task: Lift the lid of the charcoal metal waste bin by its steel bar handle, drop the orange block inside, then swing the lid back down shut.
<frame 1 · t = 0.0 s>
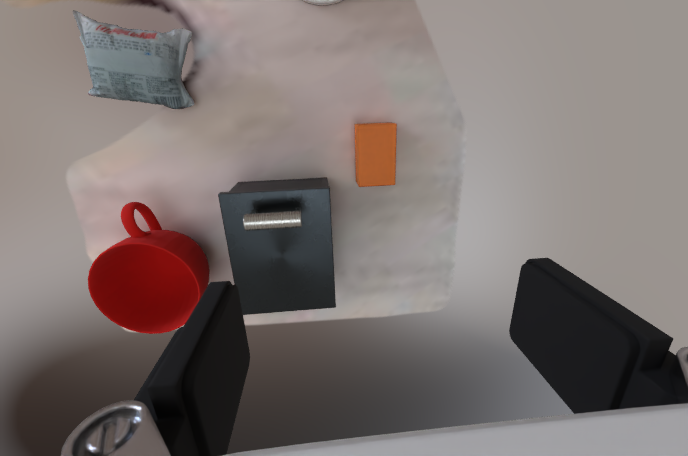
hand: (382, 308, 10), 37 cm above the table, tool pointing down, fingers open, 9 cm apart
packaged food: (147, 64, 39), on the table
orange block: (372, 152, 45), on the table
bin lid: (280, 261, 37), point 11 cm above the table, hinge at 0.0°
bin: (288, 230, 48), on the table
ceramic cup: (175, 243, 47), on the table
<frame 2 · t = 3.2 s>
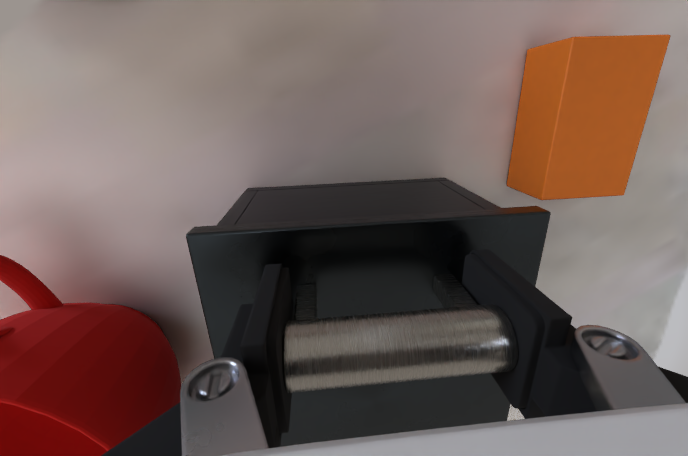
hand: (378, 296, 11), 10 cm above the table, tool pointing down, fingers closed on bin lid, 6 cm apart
orange block: (554, 121, 20), on the table
bin lid: (382, 436, 12), point 11 cm above the table, hinge at 0.0°, touching gripper
bin: (351, 289, 23), on the table
ceramic cup: (110, 318, 22), on the table
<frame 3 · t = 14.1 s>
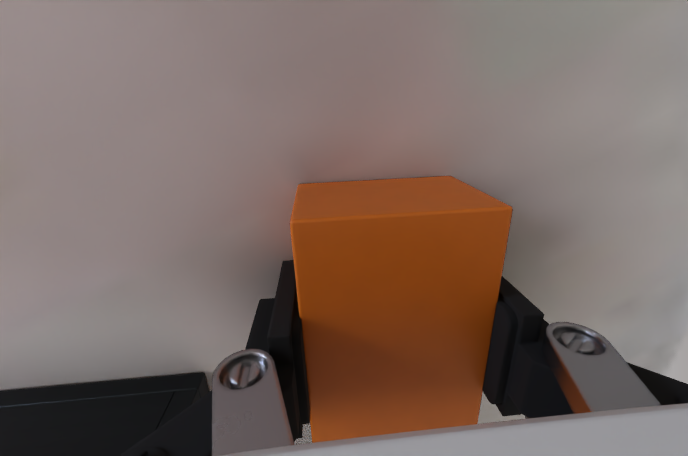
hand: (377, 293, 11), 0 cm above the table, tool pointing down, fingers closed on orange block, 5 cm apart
orange block: (375, 287, 12), on the table, touching gripper
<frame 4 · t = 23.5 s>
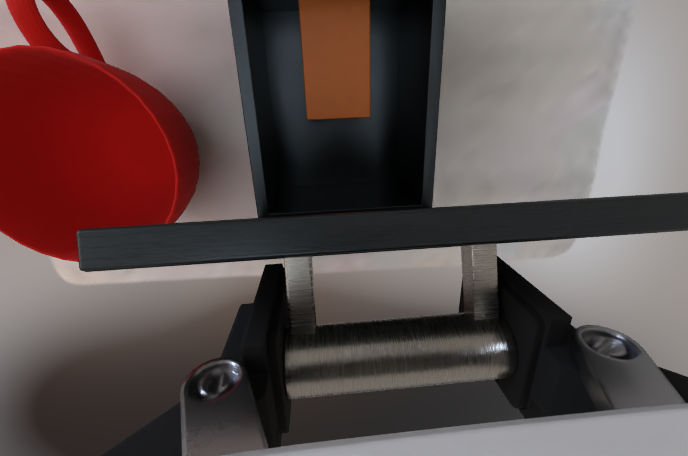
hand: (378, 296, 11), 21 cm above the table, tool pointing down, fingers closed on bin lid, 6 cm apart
orange block: (334, 67, 26), point 1 cm above the table, touching bin
bin lid: (364, 267, 14), point 18 cm above the table, hinge at 70.7°, touching gripper
bin: (334, 105, 28), on the table
ceramic cup: (141, 124, 28), on the table
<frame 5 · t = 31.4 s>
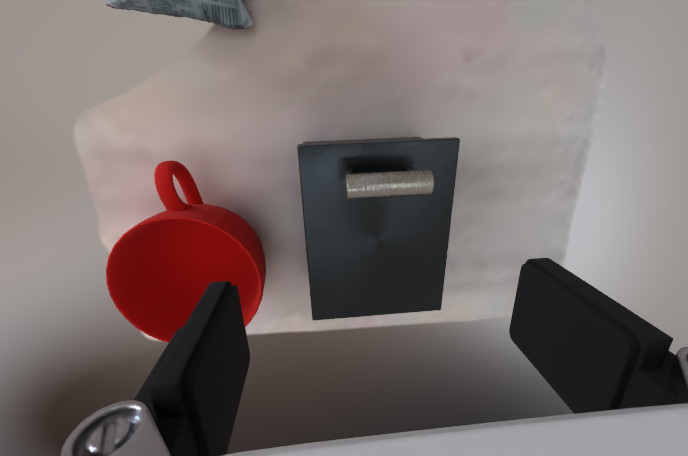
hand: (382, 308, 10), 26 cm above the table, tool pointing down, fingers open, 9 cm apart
bin lid: (382, 247, 26), point 12 cm above the table, hinge at 2.4°
ceramic cup: (215, 225, 36), on the table
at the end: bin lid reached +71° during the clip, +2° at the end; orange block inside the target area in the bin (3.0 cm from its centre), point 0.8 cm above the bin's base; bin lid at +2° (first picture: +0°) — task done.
